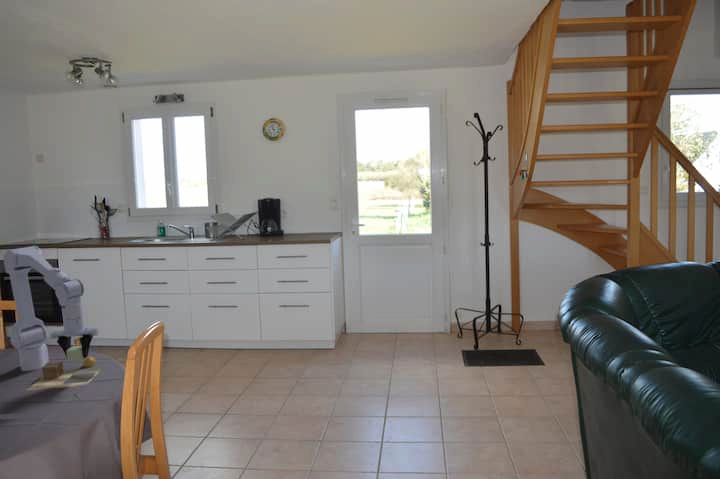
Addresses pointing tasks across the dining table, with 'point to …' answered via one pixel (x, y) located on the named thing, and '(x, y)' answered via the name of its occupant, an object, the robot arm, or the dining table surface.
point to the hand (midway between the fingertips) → (77, 357)
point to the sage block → (75, 354)
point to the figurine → (89, 360)
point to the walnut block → (52, 370)
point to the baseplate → (66, 380)
